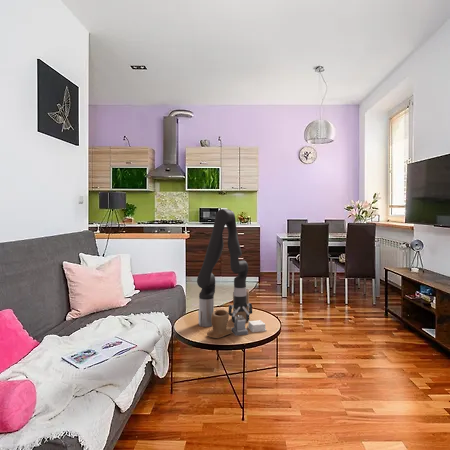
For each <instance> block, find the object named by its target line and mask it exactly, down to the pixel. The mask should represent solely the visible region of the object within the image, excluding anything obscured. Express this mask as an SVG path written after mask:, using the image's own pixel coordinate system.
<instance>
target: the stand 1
mask: <svg viewBox="0 0 450 450" xmlns="http://www.w3.org/2000/svg"><path fill="white" fill-rule="evenodd" d="M245 329H246V331H242V332H237V331H236V330H235V328H234V326H233V327H230V330H231V331H232V334H233V335H234V336H244V335H245V336H246V335H249V330H248V328H246V327H245Z"/></svg>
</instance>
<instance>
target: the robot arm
mask: <svg viewBox="0 0 450 450" xmlns="http://www.w3.org/2000/svg"><path fill="white" fill-rule="evenodd" d="M225 226H226V229H227V234H228V235H227V248H228V253H229V255H230V259H229V260H230V269H231V271H232V272H233V273H234V274H236V275H237V276H235V277H234V279H233V292H234V305H233V304H229V305H228V310H227V312H228V314H229V317H231V322H232V323H233V324H234V323H235V314H236V313H237V312H243V311H245V312H246V313H247V314H246V321H248V322H249V321H250V315H252V314H253V304H252V303H251V302H249V304H247V296H246V289H247V277H248V273H249V264H248V262H247V261H246V260H244V259H243V260H239V258H240V257H241V256H243V255H242V254H243V253H242V249H241V245H240V241H239V235H238V228H237V222H236V215H235V212H234V211H233V210H231V209H227V208H221V209H219V210H217V212H216V214H215V218H214V223H213V228H212V232H211V235H210V238H209V242H208V245H207V249H206V252H205V256H204V259H203V262H202V266H201V269H200V270H199V273H198V276H197V278H196V283H197V284H196V285H197V286H198V287H199V288H201V290H200V292H199V294H198V326H199V327H204V328H208V327H212V323H211V315H212V313H213V312H214V311H215V307H214V306H215V305H214V304H215V302H214V301H215V299H214V298H215V297H214V296H215V293H216V277H215V274H213V270H214V268H215V266H216V264H217V263H218V261H219V259H220V258H221V256H222V253H223V249H224V235H223V233H224V230H225ZM247 306H248V307H249V312H248V311H247V310H246V307H247ZM233 307H234V308H235V309H234V310H233Z"/></svg>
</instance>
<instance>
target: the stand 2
mask: <svg viewBox="0 0 450 450" xmlns="http://www.w3.org/2000/svg"><path fill="white" fill-rule="evenodd" d="M246 327H247V329H249V330H250V332H252V333H258V332H259V333H260V332H267V329H266V323H265V322H264V321H262V319H258V320H249V321H248V326H246Z"/></svg>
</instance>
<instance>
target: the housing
mask: <svg viewBox="0 0 450 450" xmlns="http://www.w3.org/2000/svg"><path fill="white" fill-rule="evenodd" d="M245 321H246V319H245V318H244V317H243V316H242V315H240V316H239V315H237V316H235V323H233V327H234V328H235V330H236V331H237V332H242V331H246V329H247V328H246V322H245ZM245 328H246V329H245Z"/></svg>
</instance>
